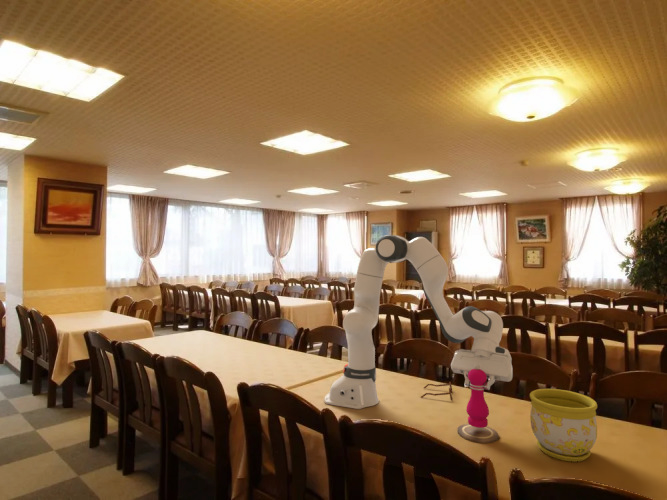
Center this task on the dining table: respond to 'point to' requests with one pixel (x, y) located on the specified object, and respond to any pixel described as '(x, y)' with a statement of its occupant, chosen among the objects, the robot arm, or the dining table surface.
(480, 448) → the dining table surface
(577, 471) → the dining table surface
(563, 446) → the flowerpot
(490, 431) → the coaster
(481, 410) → the pepper mill
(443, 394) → the glasses
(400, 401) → the dining table surface
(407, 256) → the robot arm
